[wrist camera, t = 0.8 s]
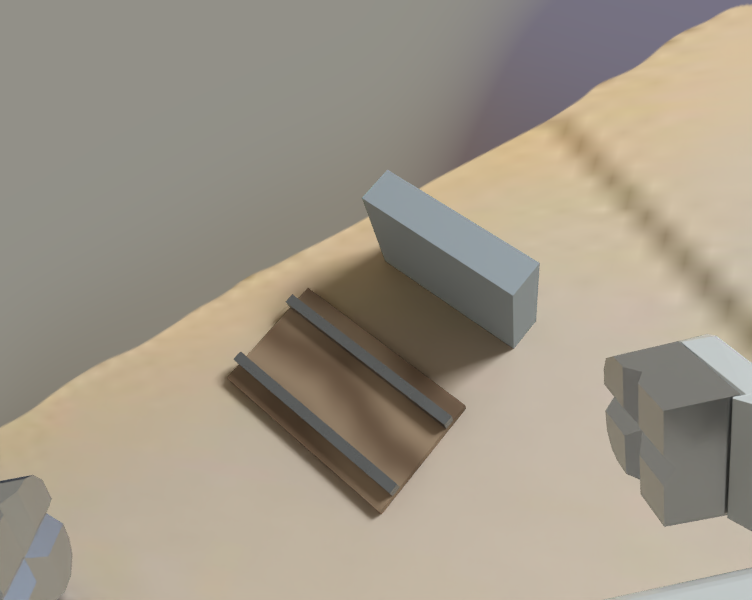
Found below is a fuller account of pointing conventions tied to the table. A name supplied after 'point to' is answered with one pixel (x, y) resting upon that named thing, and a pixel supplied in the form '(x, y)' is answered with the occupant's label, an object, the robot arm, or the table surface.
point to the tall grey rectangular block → (454, 258)
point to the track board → (346, 397)
